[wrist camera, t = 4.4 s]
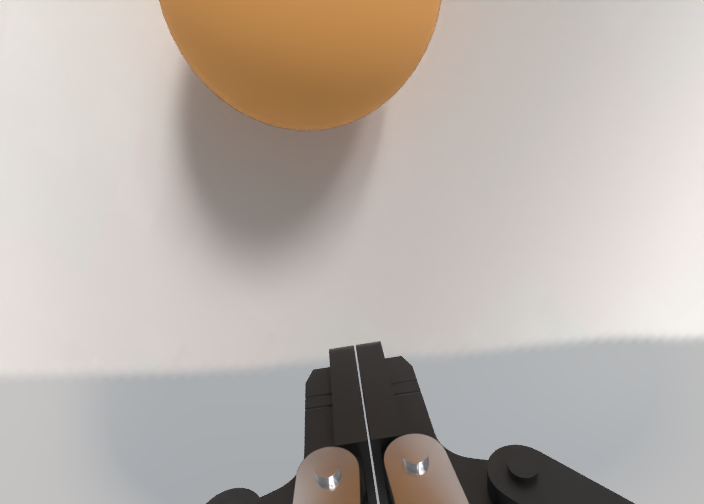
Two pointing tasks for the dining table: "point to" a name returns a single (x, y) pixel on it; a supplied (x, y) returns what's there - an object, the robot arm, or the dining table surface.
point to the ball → (302, 54)
